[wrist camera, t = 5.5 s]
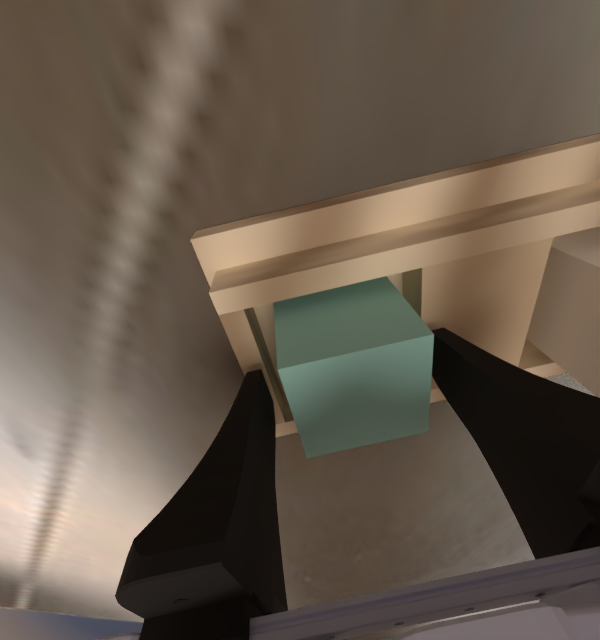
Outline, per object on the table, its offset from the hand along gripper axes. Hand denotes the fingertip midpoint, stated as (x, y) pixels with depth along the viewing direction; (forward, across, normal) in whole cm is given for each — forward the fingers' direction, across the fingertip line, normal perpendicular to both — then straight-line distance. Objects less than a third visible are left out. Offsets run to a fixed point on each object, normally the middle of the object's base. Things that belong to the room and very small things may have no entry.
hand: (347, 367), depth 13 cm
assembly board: (+4, -6, 0) cm, 7 cm away
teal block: (+3, 0, 0) cm, 3 cm away
